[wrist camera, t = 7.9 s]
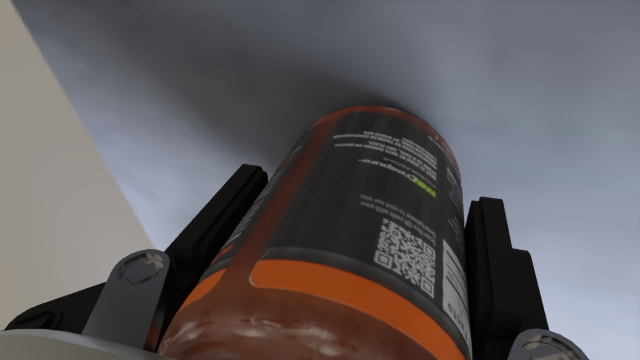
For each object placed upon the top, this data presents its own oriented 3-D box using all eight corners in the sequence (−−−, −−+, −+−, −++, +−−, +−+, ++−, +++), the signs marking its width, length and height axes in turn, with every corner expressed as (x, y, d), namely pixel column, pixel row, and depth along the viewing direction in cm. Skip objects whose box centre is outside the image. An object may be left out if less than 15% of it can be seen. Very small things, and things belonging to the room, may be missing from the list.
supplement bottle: (299, 229, 16) (99, 620, 7) (289, 91, 13) (-98, 474, 4) (448, 254, 15) (445, 789, 6) (479, 105, 12) (590, 782, 2)
